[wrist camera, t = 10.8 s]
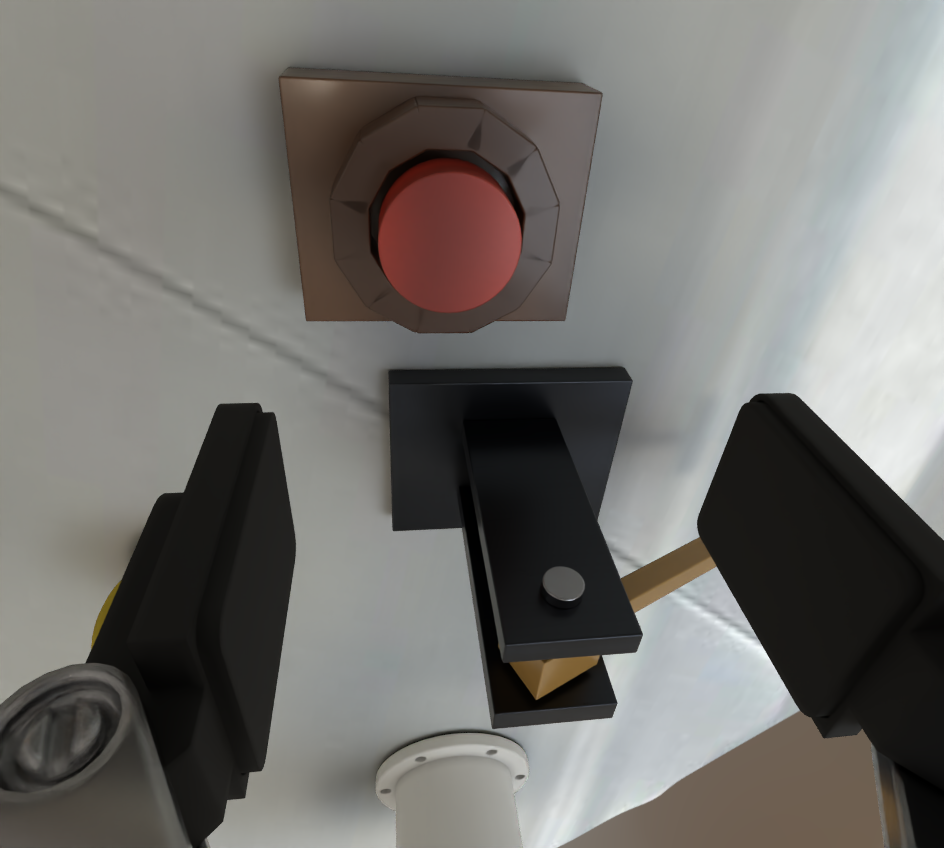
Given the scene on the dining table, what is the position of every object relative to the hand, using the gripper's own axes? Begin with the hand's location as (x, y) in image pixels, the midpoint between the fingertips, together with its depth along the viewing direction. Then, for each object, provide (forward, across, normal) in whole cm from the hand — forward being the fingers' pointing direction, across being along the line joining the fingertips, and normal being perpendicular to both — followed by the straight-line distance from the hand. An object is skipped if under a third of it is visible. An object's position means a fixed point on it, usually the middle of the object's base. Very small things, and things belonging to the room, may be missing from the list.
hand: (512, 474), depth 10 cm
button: (+12, 0, 0) cm, 12 cm away
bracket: (+16, -4, +12) cm, 20 cm away
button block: (+16, 0, 0) cm, 16 cm away
